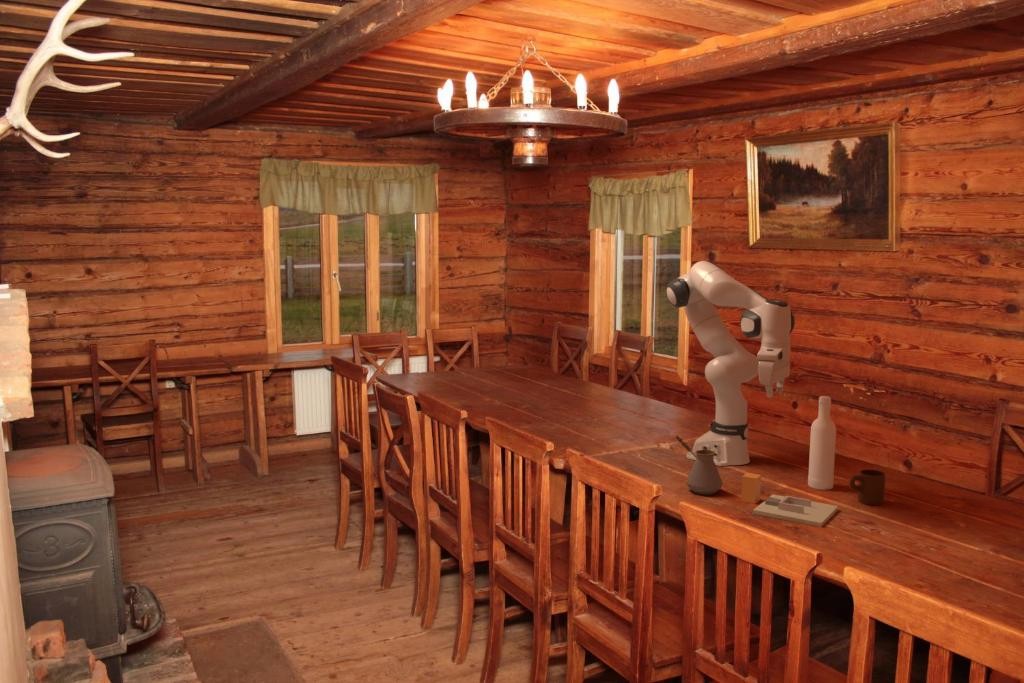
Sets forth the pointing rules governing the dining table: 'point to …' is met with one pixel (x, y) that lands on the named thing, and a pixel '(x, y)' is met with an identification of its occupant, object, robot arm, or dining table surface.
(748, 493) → the orange rectangular block
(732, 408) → the robot arm
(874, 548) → the dining table surface
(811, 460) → the bottle
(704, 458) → the coffee pot
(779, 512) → the mount deck
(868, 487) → the mug
